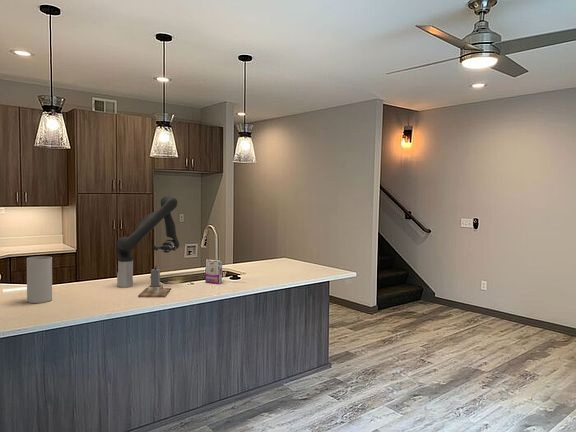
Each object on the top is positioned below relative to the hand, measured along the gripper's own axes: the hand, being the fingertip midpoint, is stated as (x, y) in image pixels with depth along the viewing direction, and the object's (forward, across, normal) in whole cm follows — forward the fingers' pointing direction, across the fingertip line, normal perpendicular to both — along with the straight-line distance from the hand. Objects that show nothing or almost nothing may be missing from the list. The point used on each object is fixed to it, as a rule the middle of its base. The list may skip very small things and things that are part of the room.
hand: (162, 249), depth 282 cm
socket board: (+14, -1, +27) cm, 30 cm away
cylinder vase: (+33, -62, +29) cm, 76 cm away
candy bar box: (-18, +33, +25) cm, 45 cm away
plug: (+14, -1, +25) cm, 29 cm away
